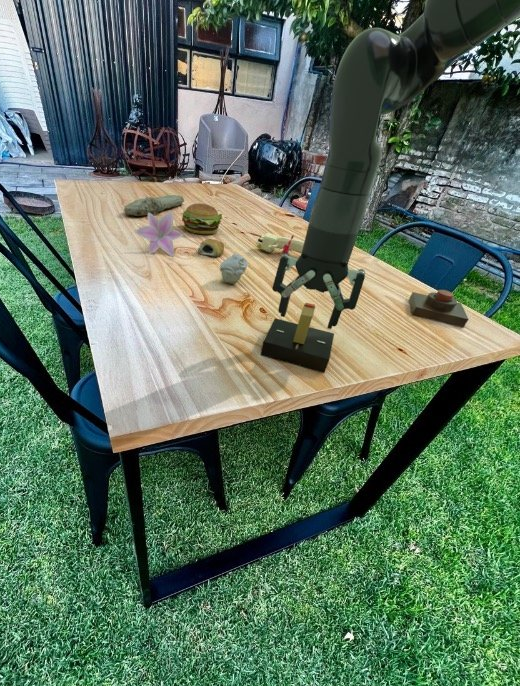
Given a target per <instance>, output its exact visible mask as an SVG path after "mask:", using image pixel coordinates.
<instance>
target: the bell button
mask: <svg viewBox="0 0 520 686" xmlns="http://www.w3.org/2000/svg"><path fill="white" fill-rule="evenodd" d="M436 293H437V294H436V295H435V298H437V299H439V300H441V301H445V302H450V301H451V299H452V298H454V296H455V294H454V293H453V292H451V291H449V290H446V289H438V290H437V292H436Z"/></svg>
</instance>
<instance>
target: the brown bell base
mask: <svg viewBox="0 0 520 686" xmlns="http://www.w3.org/2000/svg"><path fill="white" fill-rule="evenodd" d="M436 294H437V292H434V291H431V292H430V293H428V294H423V293H419V292H415V291H412V293H411V294H410V296H409V299H408V302H409V308H410V313H411V316H414V317H419V318H423V319H427V320H430V321H435V322H439V323H443V324H447V325H451V326H455V327H460V328H464V327H465V326H466V325H467V323H468V321H469V320H470V318H469V317H468V315H467V313H466V311H465V308H464V307H463V305H462V303H461V302H459V301H457V299H456V298H455V297H453V298H452V299H451V301H450V302H445V301H441V300H439V299H437V298H435V295H436ZM457 302H458V303H457Z"/></svg>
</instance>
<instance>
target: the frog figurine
mask: <svg viewBox="0 0 520 686" xmlns="http://www.w3.org/2000/svg"><path fill="white" fill-rule="evenodd" d="M247 267H248V260H247V259H246V258H245V257H244V256H243V255H242V254H239V253H233V254H232V255H231V256H227V258H226V259H224V260H223V261H222V262H221V263H220V267H219V271H220V272H221V278H222V279H223V281H224V283H227V284H231V285H233V284H236V283H238V281H240V280H241V277H242V275H244V273H245V271H246V270H247Z"/></svg>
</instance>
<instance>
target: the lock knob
mask: <svg viewBox="0 0 520 686" xmlns="http://www.w3.org/2000/svg"><path fill="white" fill-rule="evenodd" d="M315 310H316V304H313V303H309V302H304V304H303V307H302V309H301V313H300V316H299V319H298V323H297V324H298V326H297V330H296V333H295V337H294V340H293V342H296V343H300V344H304V342H305V339H306V336H307V333H308V329H309V327H311V323H312V320H313V316H314V313H315Z"/></svg>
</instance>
